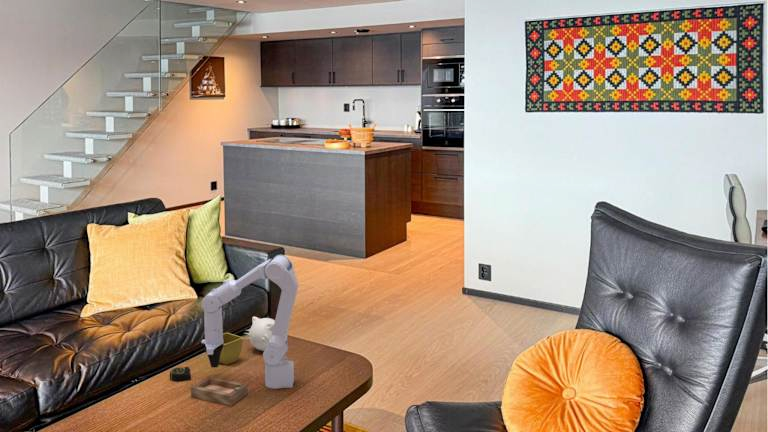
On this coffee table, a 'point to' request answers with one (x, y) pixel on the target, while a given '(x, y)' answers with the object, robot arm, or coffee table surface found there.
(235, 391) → the wooden tray
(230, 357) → the flower pot
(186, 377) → the tape measure
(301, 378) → the coffee table surface
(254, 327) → the cat head
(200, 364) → the coffee table surface
